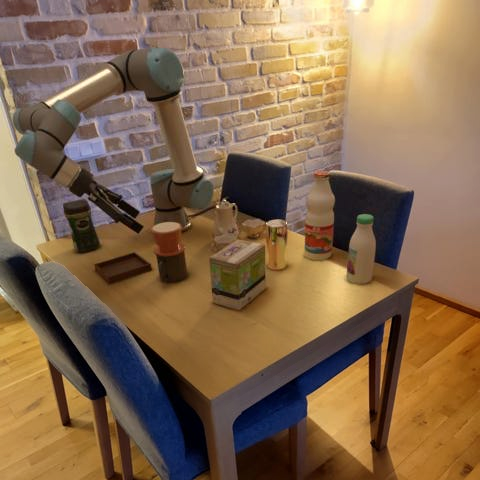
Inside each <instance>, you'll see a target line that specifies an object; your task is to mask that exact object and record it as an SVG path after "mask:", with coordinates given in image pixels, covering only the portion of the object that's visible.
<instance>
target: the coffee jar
mask: <svg viewBox="0 0 480 480" xmlns="http://www.w3.org/2000/svg"><path fill="white" fill-rule="evenodd" d="M62 208H63V215H64V217H65V218H66V220H67V222H68V226H69V229H70V235H71V240H72V245H73V248H74V251H75V252H77V253H86V252H91V251H94V250H97V249H99V248H100V247H101V242H100V238H99V236H98V233H97V231H96V229H95V226H94V222H93V220H92V208H91V206H90V204H89V200H88V199H85V198H81V199H77V200H72V201H67V202H63V203H62Z"/></svg>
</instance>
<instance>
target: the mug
mask: <svg viewBox="0 0 480 480" xmlns="http://www.w3.org/2000/svg"><path fill="white" fill-rule="evenodd" d="M155 257H156V264H157V268H158V270H157V271H158V275H159V281H160V283H163V282H164V283H168V284H169V283H170V284H173V283H174V284H175V283H179V282H181V281H184V280H185V279H186V278H187V277H188V267H187V259H186V253H185V250H184V251H183V252H182V253H180V254H177V255H173V256H159V255H156V254H155Z"/></svg>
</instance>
